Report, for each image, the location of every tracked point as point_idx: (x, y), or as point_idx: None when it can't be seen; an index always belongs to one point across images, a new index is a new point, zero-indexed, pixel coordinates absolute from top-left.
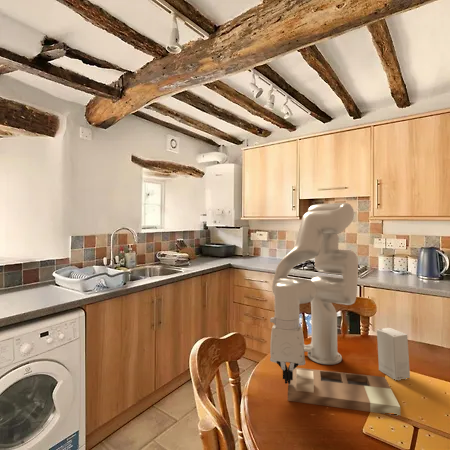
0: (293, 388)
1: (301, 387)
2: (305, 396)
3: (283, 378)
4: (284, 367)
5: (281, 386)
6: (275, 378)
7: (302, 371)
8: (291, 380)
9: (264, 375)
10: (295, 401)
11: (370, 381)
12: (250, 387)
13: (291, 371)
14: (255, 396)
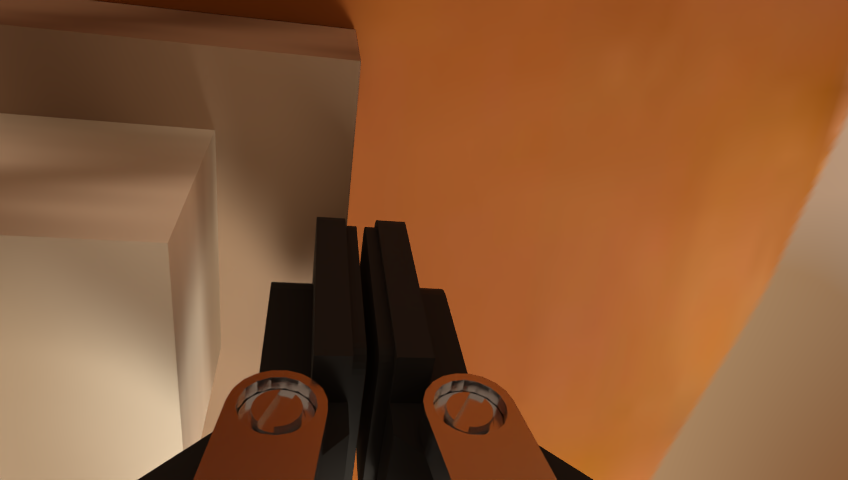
0: (265, 181)
1: (109, 148)
2: (56, 18)
3: (431, 289)
4: (449, 428)
5: None
6: None
7: (59, 461)
8: None
9: (578, 456)
10: (245, 18)
11: None
12: (771, 241)
13: (279, 387)
14: (762, 70)
